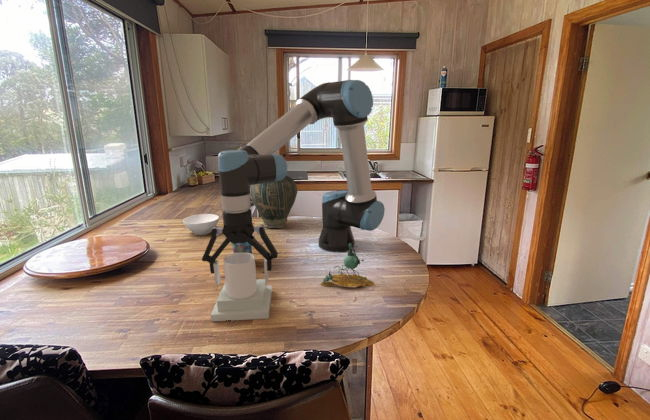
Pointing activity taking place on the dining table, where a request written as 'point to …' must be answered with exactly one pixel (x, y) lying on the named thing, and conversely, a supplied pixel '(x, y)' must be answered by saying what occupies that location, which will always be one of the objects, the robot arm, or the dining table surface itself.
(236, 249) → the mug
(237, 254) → the mug
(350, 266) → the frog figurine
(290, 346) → the dining table surface
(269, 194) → the vase
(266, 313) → the plinth
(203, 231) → the bowl
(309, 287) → the dining table surface
